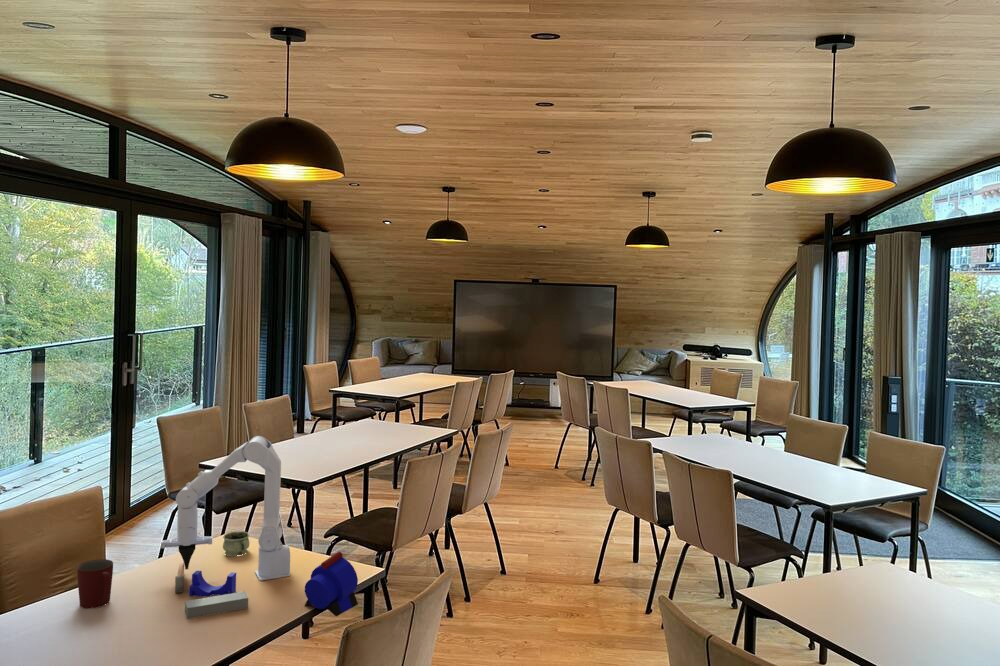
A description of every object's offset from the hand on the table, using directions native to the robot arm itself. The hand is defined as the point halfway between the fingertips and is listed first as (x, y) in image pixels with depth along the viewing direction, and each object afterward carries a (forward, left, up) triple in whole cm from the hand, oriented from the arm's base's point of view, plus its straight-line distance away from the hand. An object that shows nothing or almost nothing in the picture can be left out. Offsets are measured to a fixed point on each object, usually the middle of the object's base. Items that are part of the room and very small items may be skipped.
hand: (186, 568), depth 225 cm
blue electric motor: (-33, +39, -3) cm, 51 cm away
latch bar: (+2, +5, -2) cm, 6 cm away
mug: (+25, +11, -3) cm, 27 cm away
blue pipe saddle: (-5, +16, -3) cm, 17 cm away
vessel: (-17, -15, -3) cm, 23 cm away
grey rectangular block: (-4, +28, -3) cm, 29 cm away
